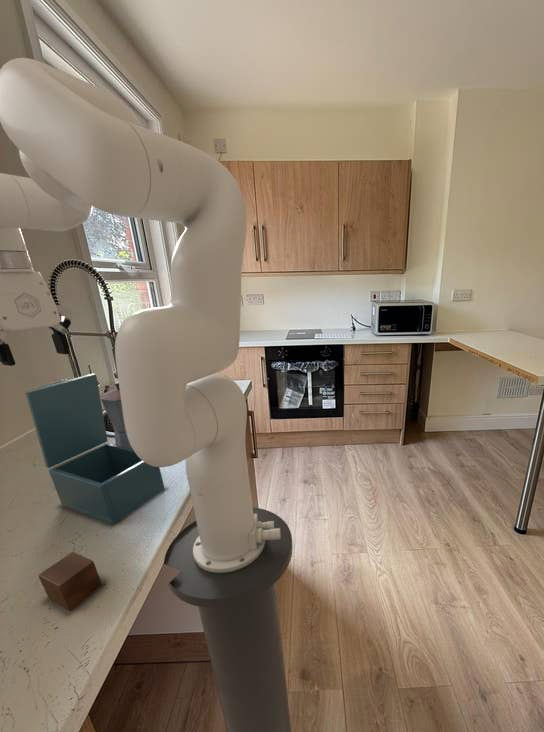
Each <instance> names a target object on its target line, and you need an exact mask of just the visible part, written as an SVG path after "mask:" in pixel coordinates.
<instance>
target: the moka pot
mask: <svg viewBox="0 0 544 732" xmlns="http://www.w3.org/2000/svg"><path fill="white" fill-rule="evenodd" d="M114 386H115V387H113V386H112V387H111V386H110V385H105V386H104V389H103V393H102V394H100V400H101V404H102V406H103V407H104V410H105V413H106V414H107V416H108V420H109V422H110V424H111V426H112V428H113V430H114V431H113V434H114V441H115V442H114V443H115V444H114V445H118V446H122V447H126V448H130V449H132V447H131V445H130V442H129V440H128V437H127V433H126V429H125V424H124V418H123V411H122V403H121V396H120V388H119V382H118V383H115V384H114Z"/></svg>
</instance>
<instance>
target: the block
mask: <svg viewBox="0 0 544 732" xmlns="http://www.w3.org/2000/svg"><path fill="white" fill-rule="evenodd" d="M37 576H38V578H39V581H40V582H41V585H42V587H43V589H44V592H45V593H46V595H47V598H48V600H49V601H51V602H53V603H54V604H56V605H58V606H60V607H61V608H64V609H65V610H67V611H69V612H71V611H72V610H74V609H75V608H76V607H77V606H78V605H80V604H82V602H83V601H85V600H86V599H87V598H88V597H90V596H91V595H92V594H93V593H95V592H96V591H97V590H98V589H99V588H100V587H102V586H103V584H102V580H101V578H100V575H99V571H98V569H97V566H96V564H95V561H94V560H92V559H90V558H88V557H86V556H83V555H81V554H79V553H77V552H75V551H71V552H70V553H68V554H67V555H65V556H64V557H62V558H61V559H60V560H58V561H56V562H55V563H53V564H52V565H51V566H49V567H48V568H46V569H44V570H43V571H42V572H41V573H39V574H38V575H37Z"/></svg>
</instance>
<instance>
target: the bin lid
mask: <svg viewBox="0 0 544 732" xmlns="http://www.w3.org/2000/svg"><path fill="white" fill-rule="evenodd" d="M25 395H26V399H27V403H28V406H29V410H30V414H31V417H32V421H33V424H34V428H35V432H36V436H37V439H38V442H39V446H40V450H41V454H42V458H43V460H44V464H45V468H47V469H51V468H53V467H55V466H58V465H60V464H62V463H64V462H66V461H68V460H71V459H73V458H75V457H77V456H79V455H81V454H84V453H86V452H88V451H90V450H92V449H95V448H97V447H99V446H101V445H103V444H105V443H108V435H107V429H106V424H105V417H104V411H103V405H102V400H101V394H100V390H99V382H98V377H97V374H96V373H90V374H89V373H88V374H86V375H81V376H79V377H74V378H71V379H67V378H64V379H60V380H57V381H52V382H49V383H46V384H41V385H37V386H35V387H33V388H32V389H30V390H26V391H25Z"/></svg>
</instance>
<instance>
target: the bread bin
mask: <svg viewBox="0 0 544 732" xmlns="http://www.w3.org/2000/svg"><path fill="white" fill-rule="evenodd" d="M48 472H49V475H50V477H51V480H52V483H53V485H54V488H55V491H56V493H57V496H58V499H59V501H60V504H61V506H62V507H65V508H67V509H70V510H72V511H74V512H77V513H81V514H83V515H86V516H88V517H91V518H93V519H96V520H99V521H102V522H103V523H107V524H110V525H111V526H113V525H115V524H116V523H118V522H120V521H121V520H123V519H124V518H126V517H127V516H128V515H130V514H131V513H133V512H134V511H135V510H137V509H138V508H141V506H143V505H144V504H146V503H147V502H149V501H150V500H151V499H153V498H155V497H156V496H157V495H159V494H160V493H162V492H163V491H165V485H164V481H163V477H162V473H161V467H154V466H151V465H149V464H147V463H145V462H144V461H142V460H141V459H140V458H139V457H138V456H137V455H136V453H135V452H134V450H133V449H130V448H126V447H122V446H118V445H115V444H114V443H111V442H105V443H103V444H101V445H99V446H96V447H94V448H92V449H90V450H88V451H85V452H83V453H81V454H79V455H77V456H75V457H72V458H70V459H68V460H66V461H64V462H61V463H59V464H57V465H55V466H53V467H50V468H48Z"/></svg>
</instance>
